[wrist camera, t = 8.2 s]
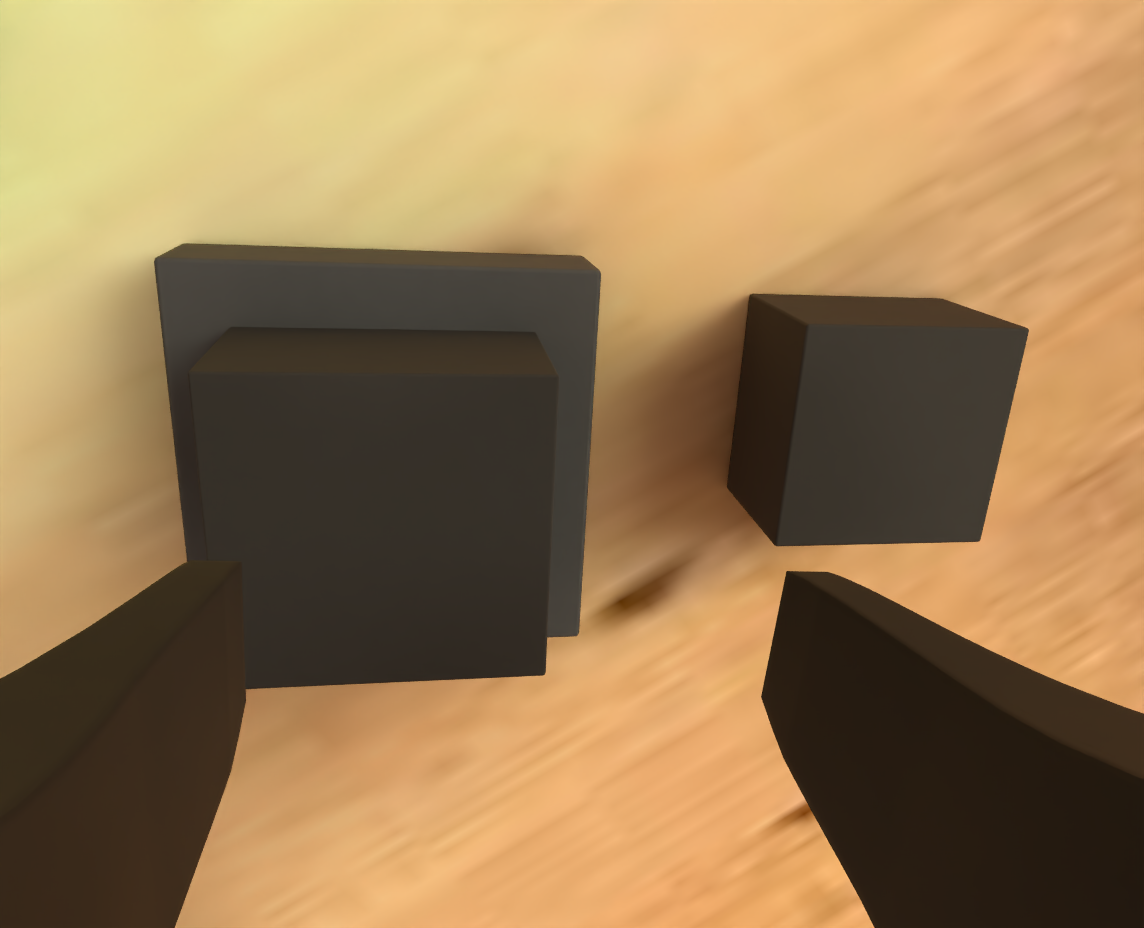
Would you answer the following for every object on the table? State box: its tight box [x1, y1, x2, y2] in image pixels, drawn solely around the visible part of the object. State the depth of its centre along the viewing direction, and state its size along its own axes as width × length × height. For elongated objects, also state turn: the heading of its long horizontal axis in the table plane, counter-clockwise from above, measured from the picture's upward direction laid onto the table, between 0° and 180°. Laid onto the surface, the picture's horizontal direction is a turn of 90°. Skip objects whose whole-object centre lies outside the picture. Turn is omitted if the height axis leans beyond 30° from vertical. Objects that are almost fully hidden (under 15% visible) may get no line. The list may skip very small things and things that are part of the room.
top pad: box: [727, 294, 1029, 546], centre depth 19 cm, size 5×5×3 cm
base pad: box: [154, 244, 601, 637], centre depth 19 cm, size 8×8×2 cm
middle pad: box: [188, 327, 559, 689], centre depth 16 cm, size 6×6×3 cm
